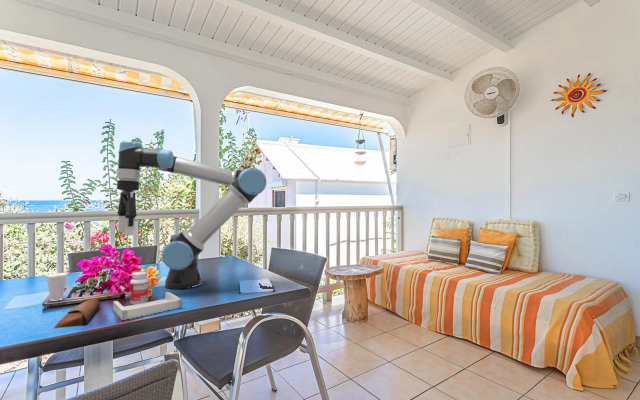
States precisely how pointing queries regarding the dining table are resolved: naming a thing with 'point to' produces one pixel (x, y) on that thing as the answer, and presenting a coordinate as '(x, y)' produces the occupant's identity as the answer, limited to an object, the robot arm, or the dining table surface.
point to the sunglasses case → (79, 314)
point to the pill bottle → (139, 288)
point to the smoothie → (56, 284)
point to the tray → (147, 307)
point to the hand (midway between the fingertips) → (125, 233)
